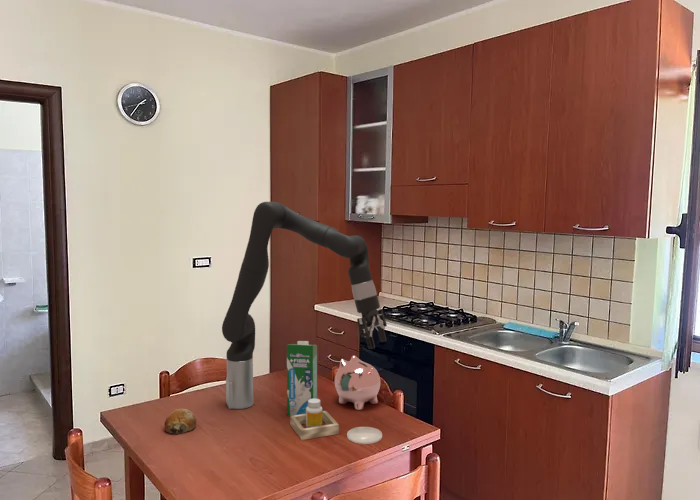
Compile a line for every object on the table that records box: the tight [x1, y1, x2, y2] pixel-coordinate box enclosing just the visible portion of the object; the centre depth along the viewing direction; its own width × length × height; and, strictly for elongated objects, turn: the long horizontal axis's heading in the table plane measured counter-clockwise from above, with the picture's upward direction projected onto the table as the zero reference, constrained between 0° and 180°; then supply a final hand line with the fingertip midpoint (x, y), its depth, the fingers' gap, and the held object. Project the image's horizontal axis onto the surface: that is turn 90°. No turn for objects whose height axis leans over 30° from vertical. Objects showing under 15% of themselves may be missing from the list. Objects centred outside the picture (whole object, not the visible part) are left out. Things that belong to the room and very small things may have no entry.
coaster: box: [346, 426, 383, 445], centre depth 174 cm, size 11×11×1 cm
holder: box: [289, 410, 340, 441], centre depth 179 cm, size 12×12×3 cm
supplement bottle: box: [305, 398, 323, 428], centre depth 179 cm, size 5×5×10 cm
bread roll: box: [164, 408, 198, 435], centre depth 180 cm, size 10×10×8 cm
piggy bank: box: [334, 354, 381, 411], centre depth 203 cm, size 15×18×16 cm
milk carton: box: [286, 340, 318, 416], centre depth 193 cm, size 9×9×25 cm
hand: (377, 345), depth 178 cm, fingers open, 8 cm apart
